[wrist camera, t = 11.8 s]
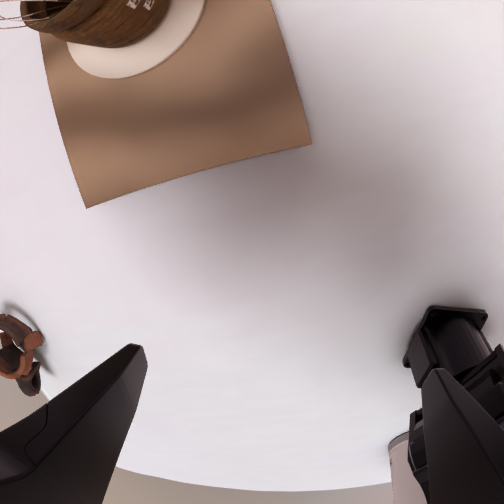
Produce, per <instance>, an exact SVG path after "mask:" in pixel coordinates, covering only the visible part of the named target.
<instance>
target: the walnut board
mask: <svg viewBox="0 0 504 504" xmlns="http://www.w3.org/2000/svg"><path fill="white" fill-rule="evenodd" d="M39 35H40V42H41V48H42V54H43V60H44V65H45V70H46V75H47V80H48V85H49V89H50V93H51V98H52V102H53V106H54V110H55V114H56V118H57V121H58V125H59V129H60V132H61V136H62V139H63V142H64V146H65V149H66V152H67V155H68V159H69V162H70V165H71V168H72V171H73V174H74V177H75V179H76V182H77V185H78V188H79V191H80V193H81V196H82V199H83V202H84V204H85V207H86V209H87V208H90V207H92V206H95V205H98V204H101V203H103V202H106V201H109V200H112V199H114V198H117V197H120V196H123V195H126V194H129V193H132V192H135V191H138V190H140V189H144V188H147V187H150V186H153V185H156V184H159V183H162V182H165V181H168V180H172V179H175V178H178V177H182V176H185V175H188V174H192V173H195V172H199V171H202V170H206V169H209V168H213V167H217V166H220V165H224V164H228V163H232V162H235V161H239V160H243V159H247V158H251V157H255V156H260V155H264V154H268V153H272V152H277V151H281V150H286V149H290V148H295V147H300V146H305V145H309V144H312V142H311V137H310V133H309V129H308V125H307V121H306V118H305V114H304V110H303V106H302V102H301V99H300V95H299V91H298V88H297V84H296V81H295V77H294V74H293V71H292V67H291V64H290V60H289V57H288V54H287V51H286V48H285V44H284V41H283V38H282V35H281V32H280V29H279V26H278V23H277V20H276V17H275V14H274V11H273V8H272V6H271V3H270V0H170V4H169V7H168V10H167V12H166V14H165V16H164V18H163V20H162V21H161V23H160V24H159V25H158V26H157V27H156V29H155V30H154V31H153V32H152V33H150V34H149V35H148V36H147V37H145V38H144V39H142V40H141V41H139V42H137V43H135V44H132V45H130V46H127V47H122V48H101V47H95V46H88V45H82V44H76V43H71V42H66V41H63V40H60V39H58V38H56V37H54V36H53V35H52V34H51V33H42V32H39Z"/></svg>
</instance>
